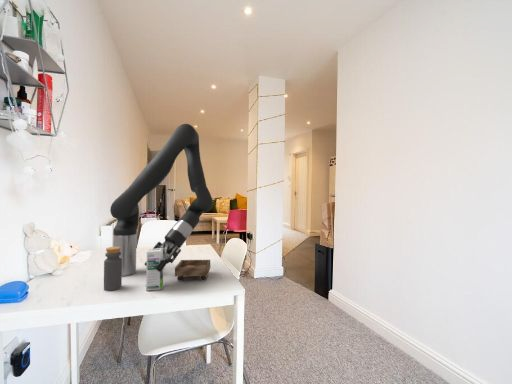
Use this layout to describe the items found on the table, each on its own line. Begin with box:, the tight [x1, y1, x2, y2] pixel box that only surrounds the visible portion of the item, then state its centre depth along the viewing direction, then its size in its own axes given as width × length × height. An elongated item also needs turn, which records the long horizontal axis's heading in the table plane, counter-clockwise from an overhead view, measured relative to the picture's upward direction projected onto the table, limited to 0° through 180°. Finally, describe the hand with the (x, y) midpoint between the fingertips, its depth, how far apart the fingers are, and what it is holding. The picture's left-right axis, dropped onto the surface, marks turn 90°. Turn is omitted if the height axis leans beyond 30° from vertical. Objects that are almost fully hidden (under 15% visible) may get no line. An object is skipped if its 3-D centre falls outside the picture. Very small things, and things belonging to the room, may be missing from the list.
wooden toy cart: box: [174, 259, 211, 282], centre depth 110 cm, size 13×13×6 cm
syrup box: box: [145, 248, 164, 292], centre depth 97 cm, size 6×6×14 cm
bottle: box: [103, 246, 123, 292], centre depth 97 cm, size 6×6×15 cm
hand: (151, 268), depth 96 cm, fingers closed on syrup box, 8 cm apart
